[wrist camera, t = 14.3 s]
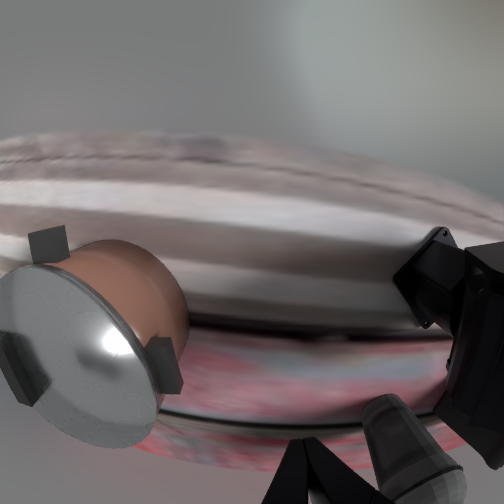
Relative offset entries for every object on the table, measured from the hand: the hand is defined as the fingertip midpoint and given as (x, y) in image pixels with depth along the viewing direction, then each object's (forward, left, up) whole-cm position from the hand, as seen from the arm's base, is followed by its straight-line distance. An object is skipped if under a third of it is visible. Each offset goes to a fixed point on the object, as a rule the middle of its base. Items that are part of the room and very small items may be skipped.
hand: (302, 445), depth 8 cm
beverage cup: (+17, 0, -13) cm, 22 cm away
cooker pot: (-7, -10, -13) cm, 18 cm away
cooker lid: (-7, -10, -5) cm, 14 cm away
